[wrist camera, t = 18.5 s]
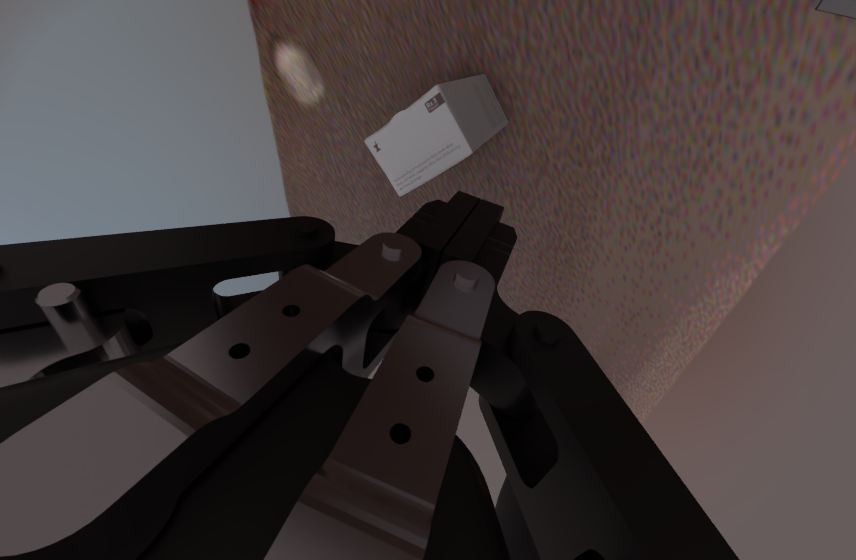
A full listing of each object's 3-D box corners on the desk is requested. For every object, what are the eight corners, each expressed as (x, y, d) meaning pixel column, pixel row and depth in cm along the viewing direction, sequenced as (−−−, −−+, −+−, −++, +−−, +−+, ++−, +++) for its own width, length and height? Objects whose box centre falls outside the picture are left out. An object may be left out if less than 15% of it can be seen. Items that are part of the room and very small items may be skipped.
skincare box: (451, 158, 44) (397, 203, 33) (425, 111, 42) (358, 142, 31) (514, 119, 39) (475, 158, 28) (486, 65, 38) (433, 83, 26)
